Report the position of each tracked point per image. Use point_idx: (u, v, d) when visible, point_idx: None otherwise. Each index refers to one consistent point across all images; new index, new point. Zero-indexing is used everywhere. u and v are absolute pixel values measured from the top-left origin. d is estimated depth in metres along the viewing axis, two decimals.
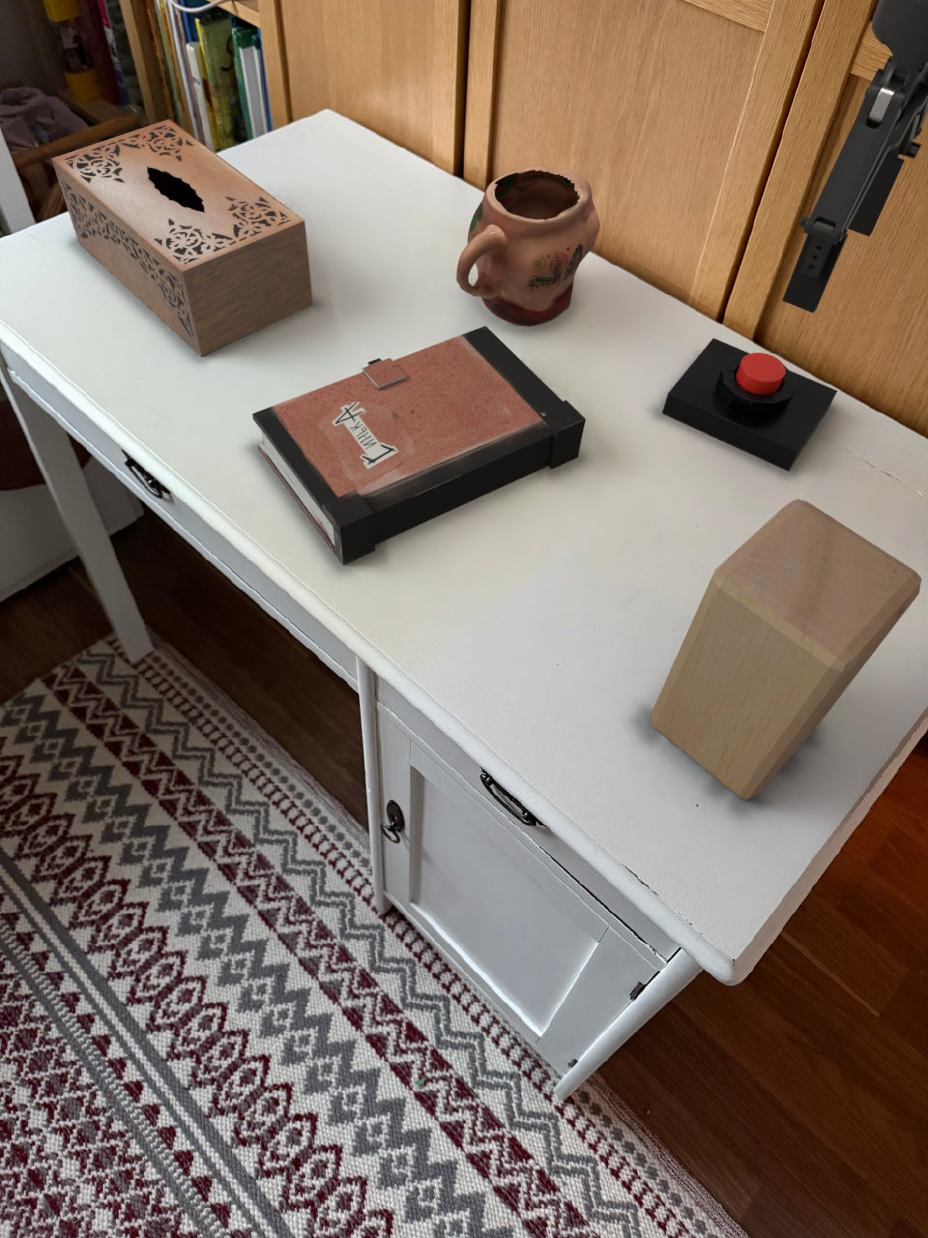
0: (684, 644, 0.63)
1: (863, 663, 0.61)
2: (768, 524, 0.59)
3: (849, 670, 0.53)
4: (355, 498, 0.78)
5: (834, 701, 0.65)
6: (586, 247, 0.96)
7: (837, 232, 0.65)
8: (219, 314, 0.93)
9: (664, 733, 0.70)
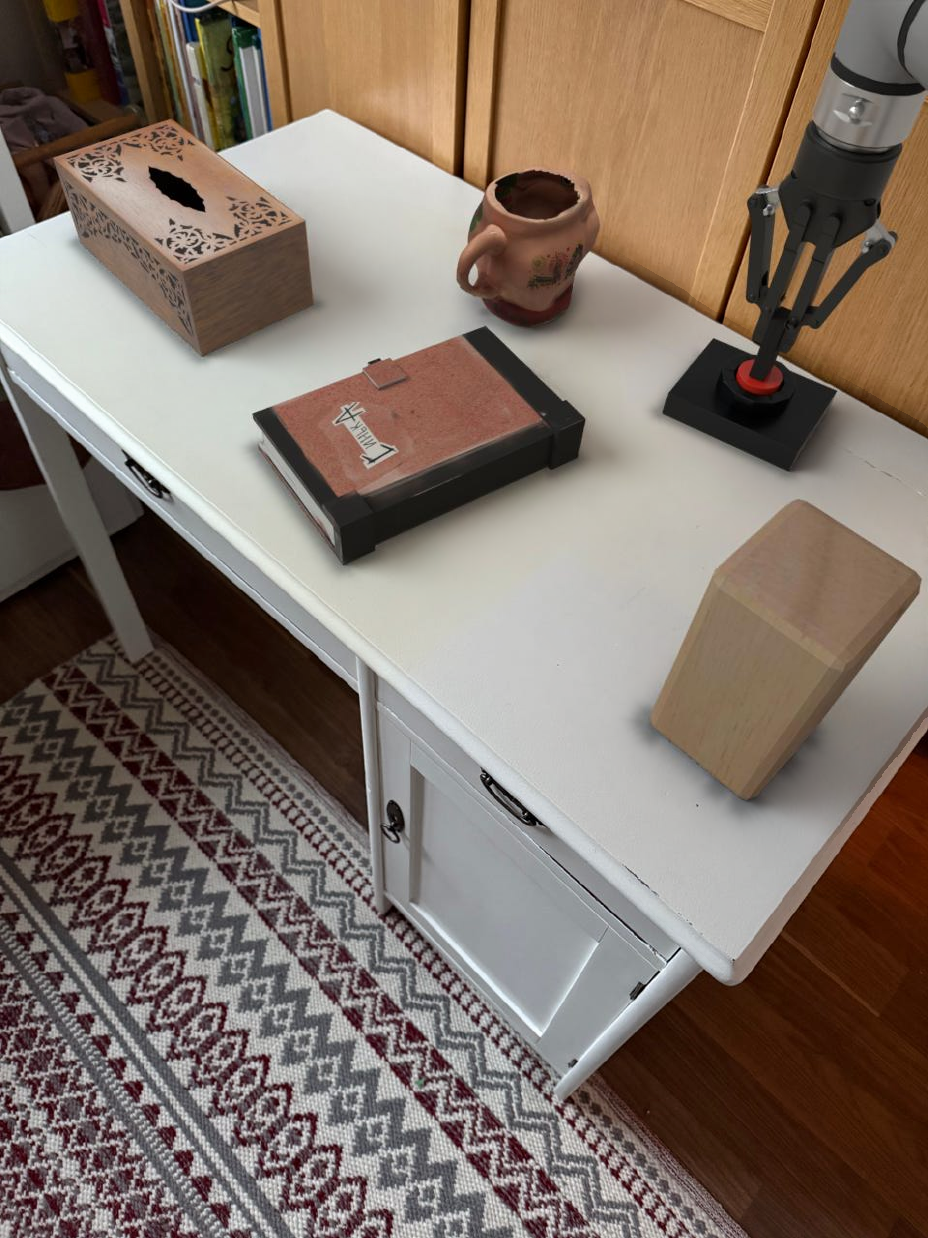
0: (684, 644, 0.63)
1: (863, 663, 0.61)
2: (768, 524, 0.59)
3: (849, 670, 0.53)
4: (355, 498, 0.78)
5: (834, 701, 0.65)
6: (586, 247, 0.96)
7: None
8: (219, 314, 0.93)
9: (664, 733, 0.70)
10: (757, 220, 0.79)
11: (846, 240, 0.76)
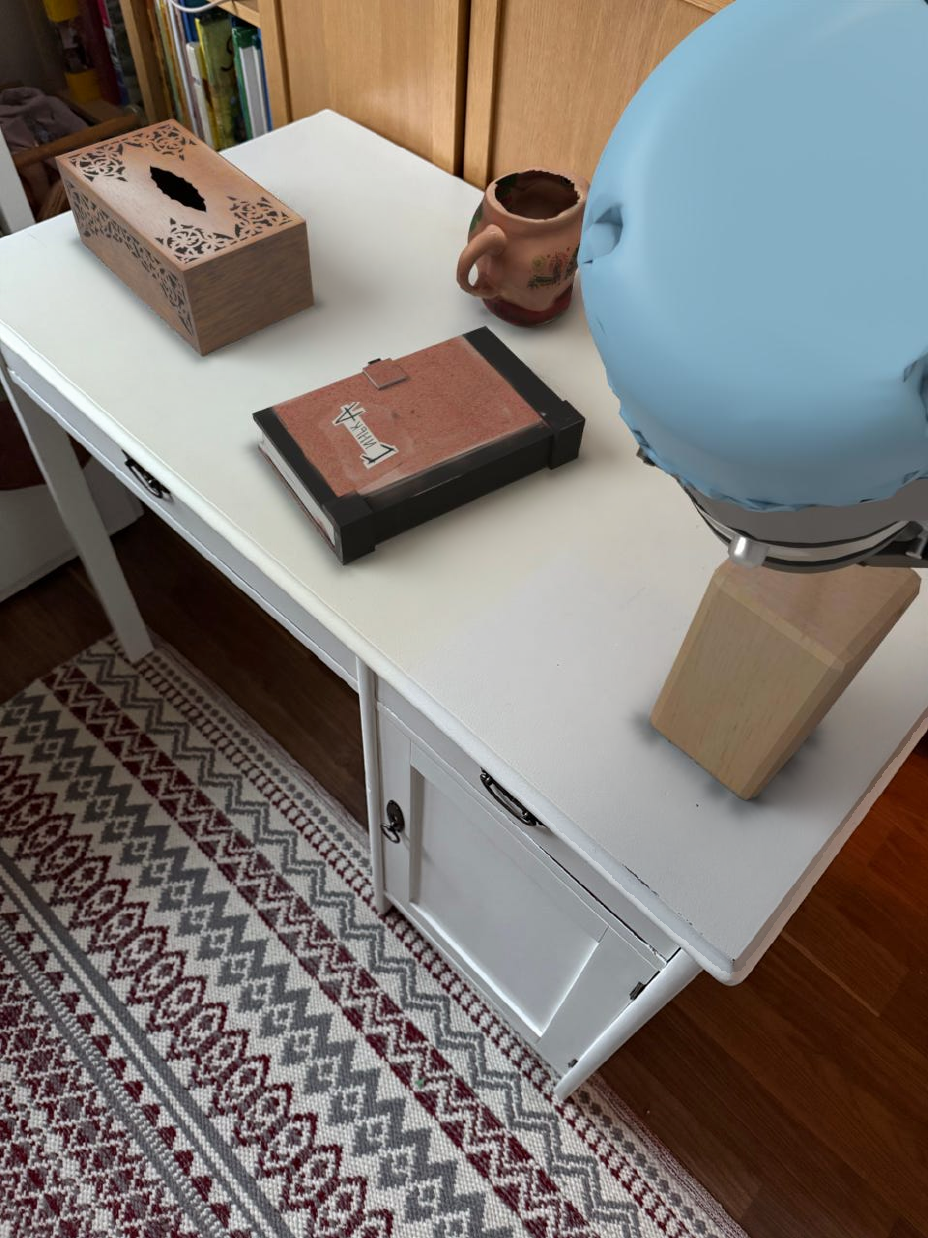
0: (684, 644, 0.63)
1: (863, 663, 0.61)
2: None
3: (849, 670, 0.53)
4: (355, 498, 0.78)
5: (834, 701, 0.65)
6: None
7: None
8: (219, 313, 0.93)
9: (664, 733, 0.70)
10: None
11: None
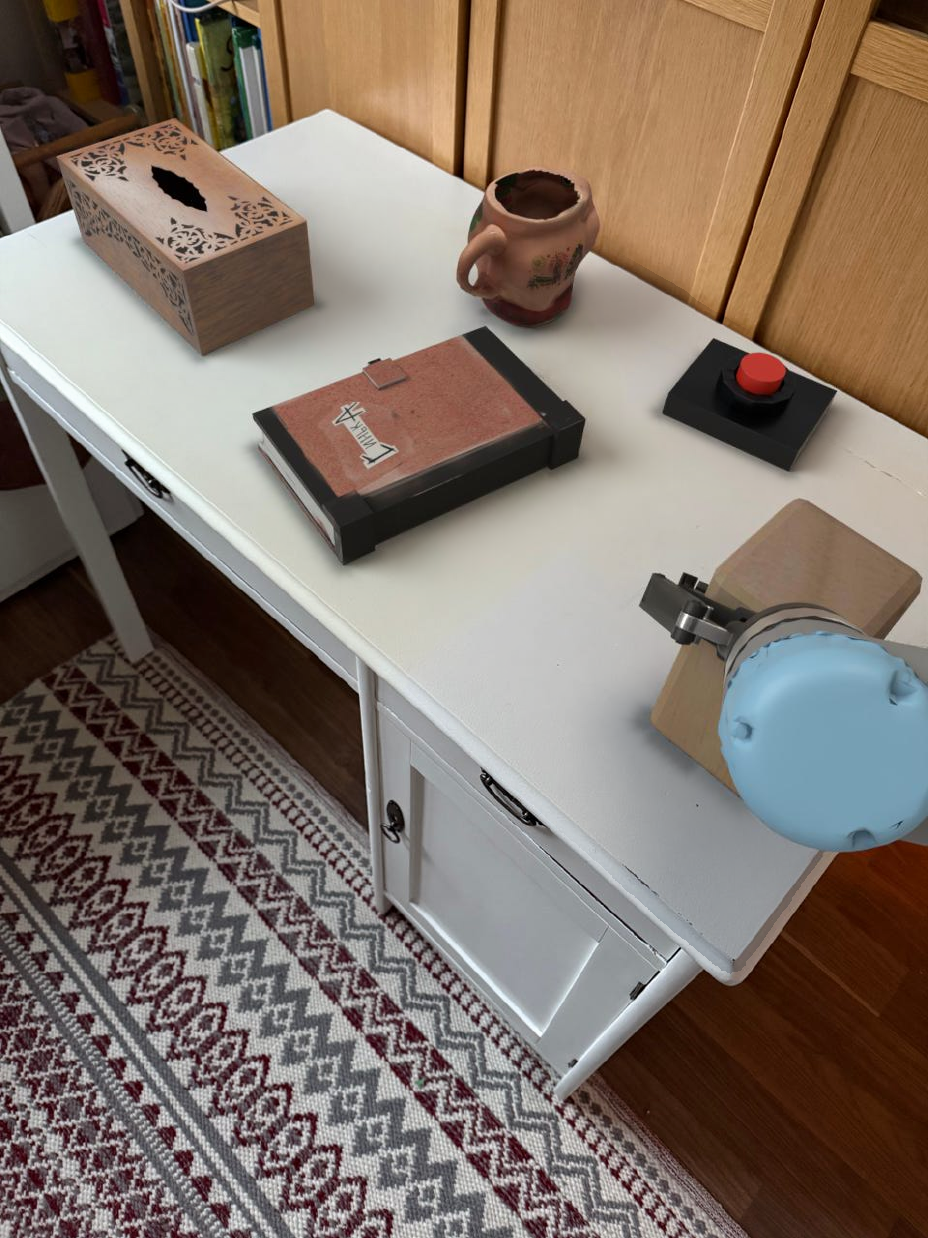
0: None
1: None
2: (769, 523, 0.59)
3: None
4: (355, 498, 0.78)
5: None
6: (586, 247, 0.96)
7: None
8: (220, 313, 0.93)
9: (664, 732, 0.70)
10: None
11: None
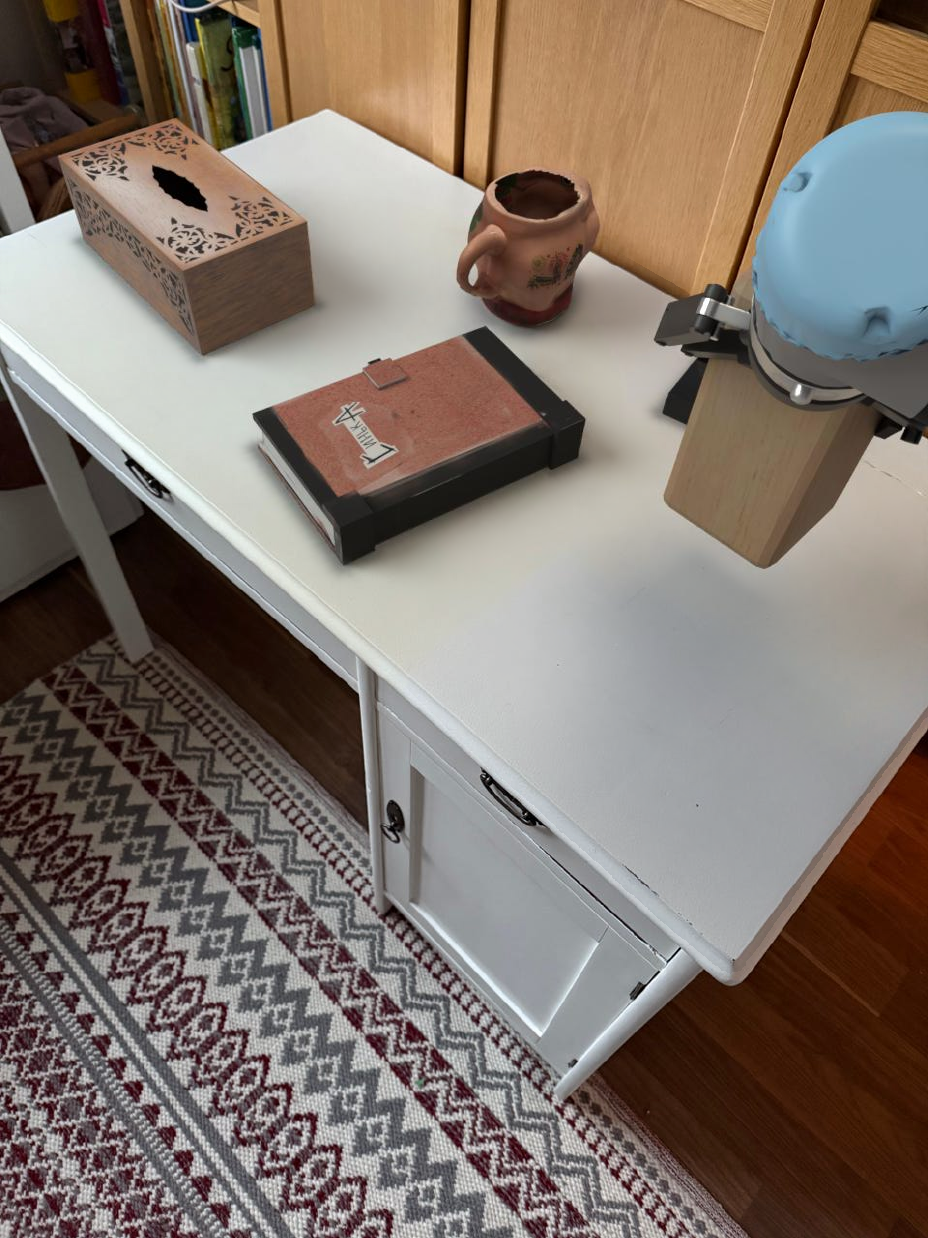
0: (701, 385, 0.60)
1: None
2: None
3: None
4: (355, 498, 0.78)
5: (856, 454, 0.63)
6: (586, 247, 0.96)
7: None
8: (220, 313, 0.93)
9: (679, 507, 0.68)
10: (698, 335, 0.52)
11: None
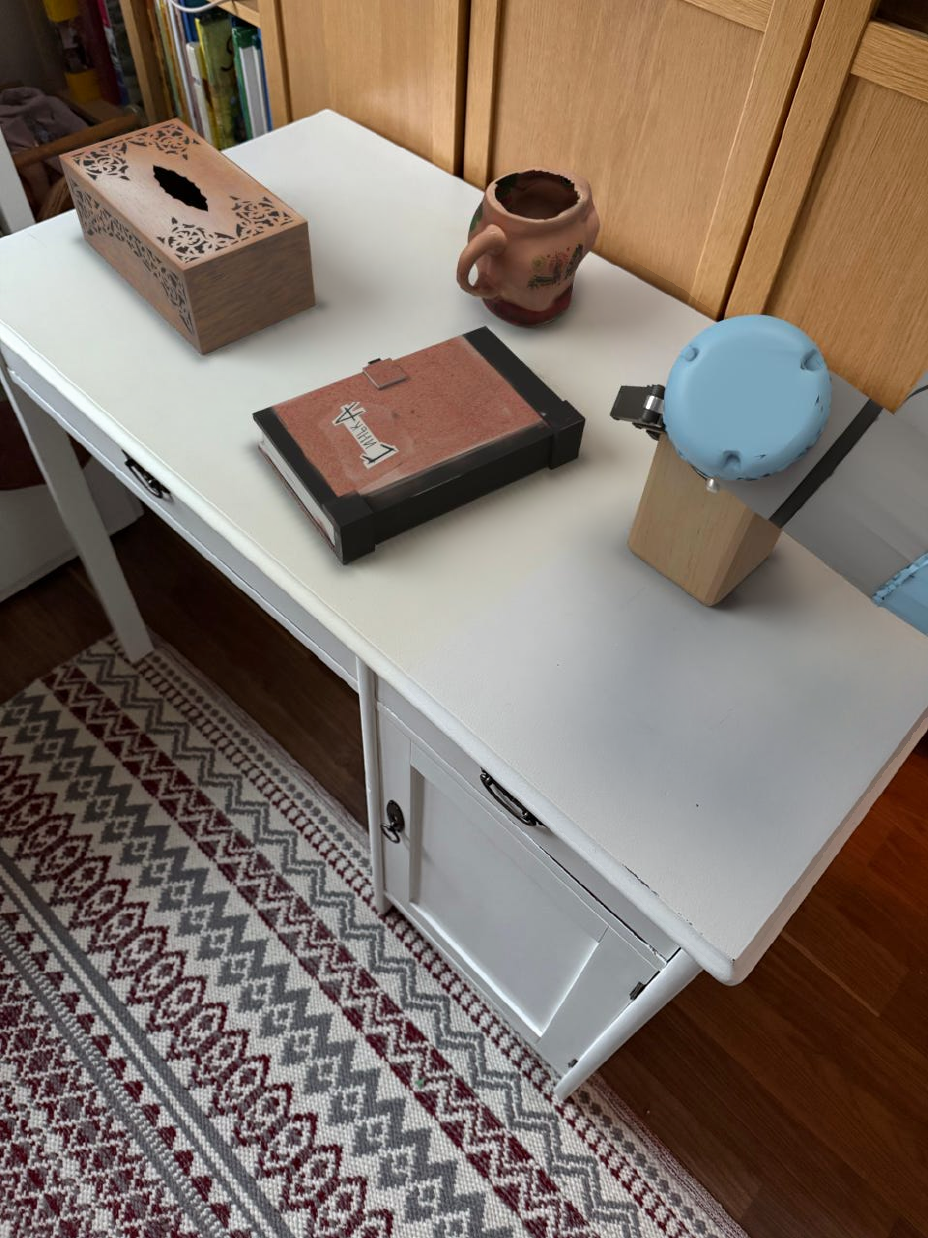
0: (654, 457, 0.73)
1: None
2: None
3: None
4: (355, 498, 0.78)
5: None
6: (586, 247, 0.96)
7: None
8: (220, 313, 0.93)
9: (640, 553, 0.81)
10: None
11: None
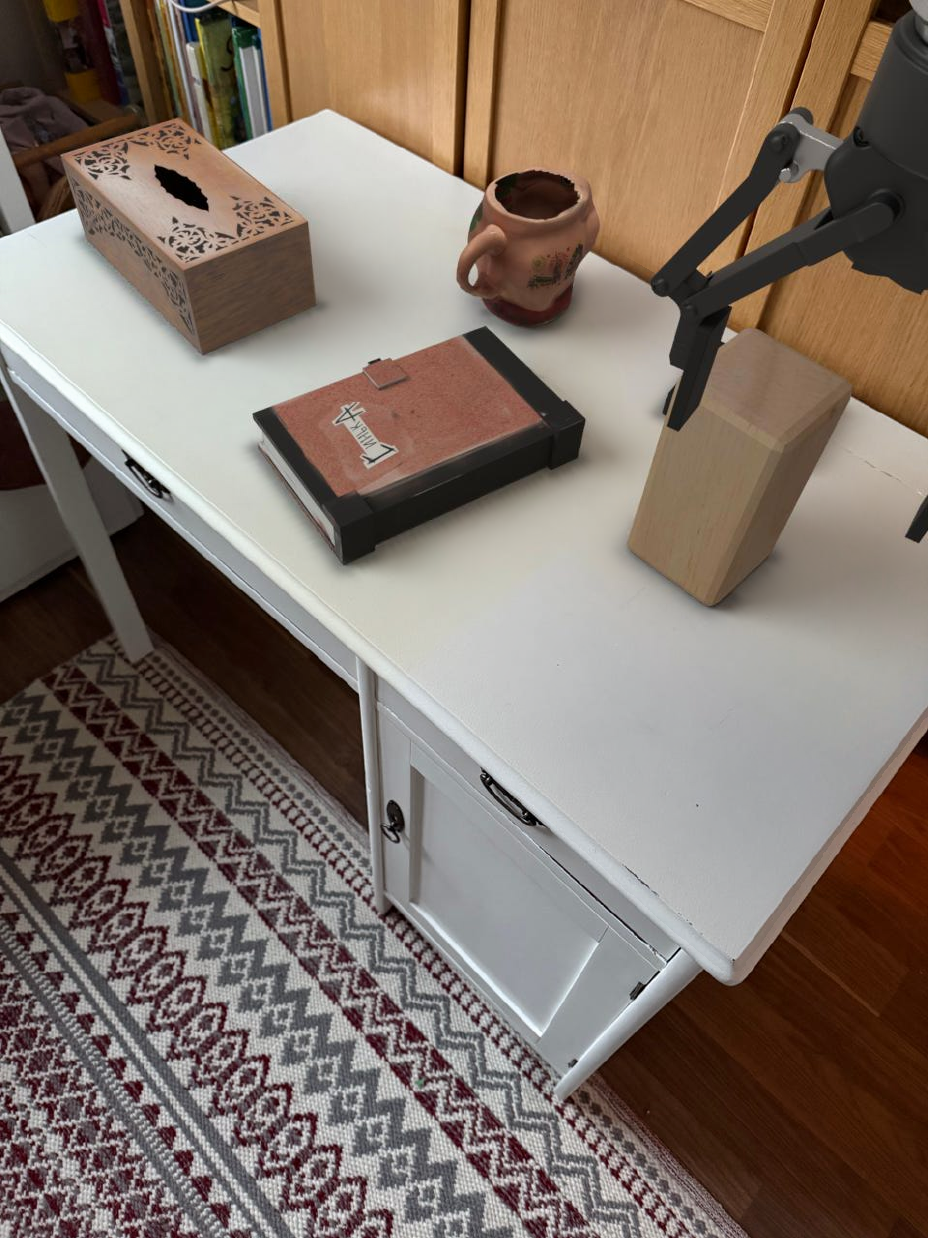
0: (654, 457, 0.73)
1: (806, 469, 0.71)
2: (724, 345, 0.69)
3: (788, 452, 0.64)
4: (355, 498, 0.78)
5: (784, 513, 0.76)
6: (586, 247, 0.96)
7: None
8: (220, 313, 0.93)
9: (640, 553, 0.81)
10: (761, 178, 0.38)
11: None
